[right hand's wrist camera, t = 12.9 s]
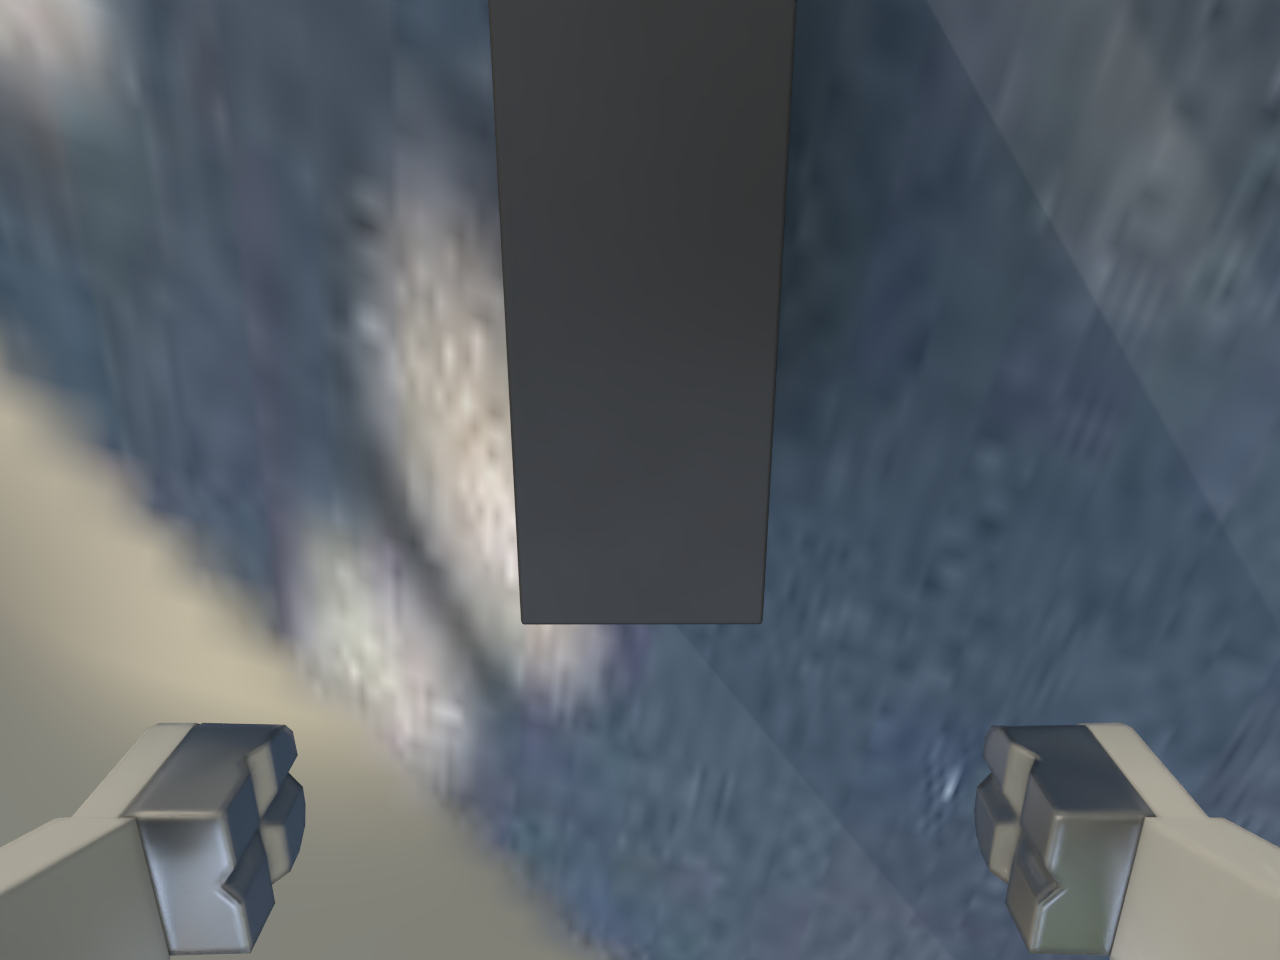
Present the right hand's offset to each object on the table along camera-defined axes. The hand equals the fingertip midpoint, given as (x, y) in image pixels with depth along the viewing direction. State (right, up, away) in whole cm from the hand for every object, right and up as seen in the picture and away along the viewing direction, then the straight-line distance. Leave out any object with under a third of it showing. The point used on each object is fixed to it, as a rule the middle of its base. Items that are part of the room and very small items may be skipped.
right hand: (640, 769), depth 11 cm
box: (0, +14, +17) cm, 22 cm away
